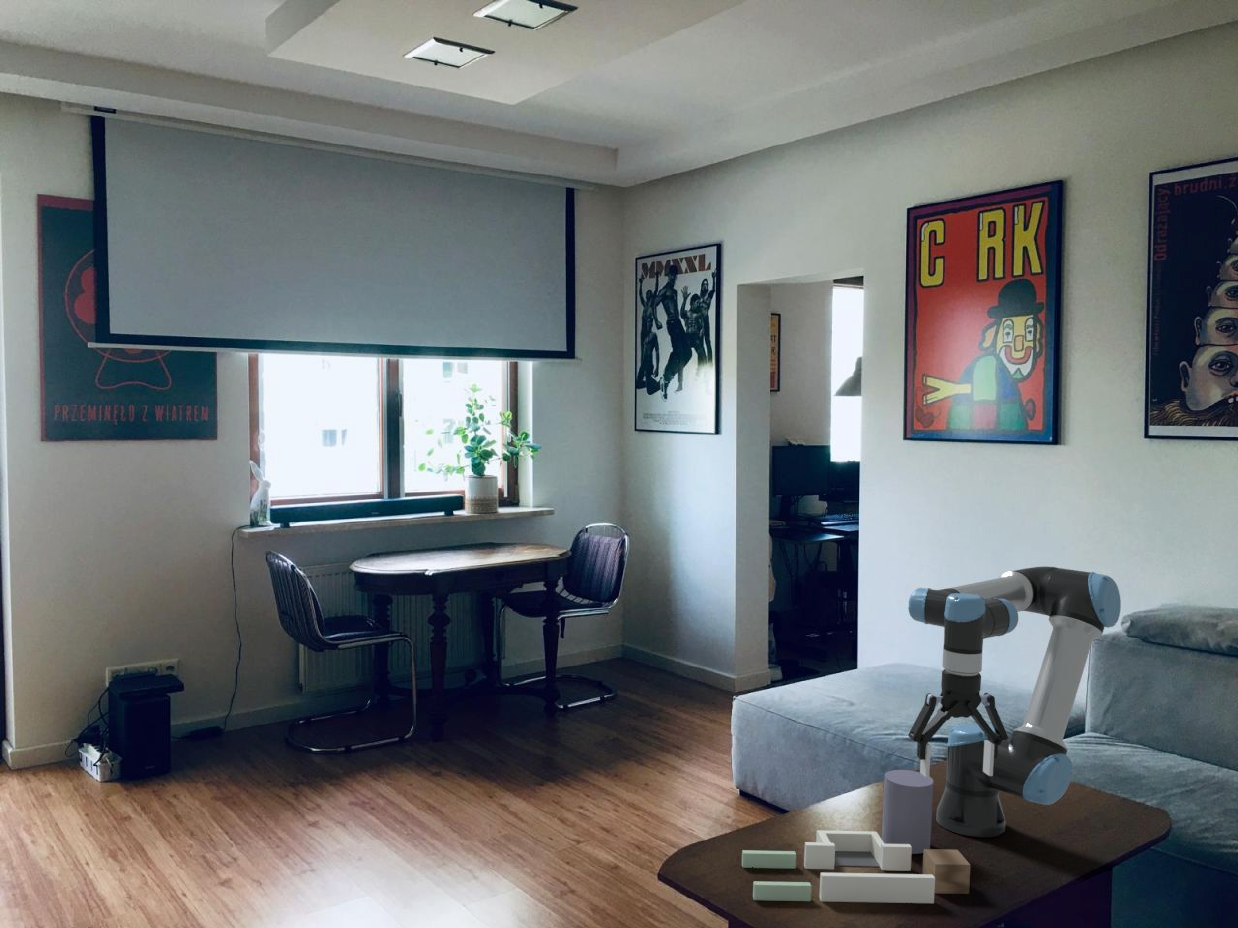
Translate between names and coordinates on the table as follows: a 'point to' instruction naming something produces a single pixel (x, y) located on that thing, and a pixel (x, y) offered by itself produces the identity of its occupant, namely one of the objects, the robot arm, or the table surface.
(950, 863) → the block
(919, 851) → the lavender cylinder
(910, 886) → the white walled enclosure
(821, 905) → the table surface
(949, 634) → the robot arm
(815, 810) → the table surface
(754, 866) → the rails
